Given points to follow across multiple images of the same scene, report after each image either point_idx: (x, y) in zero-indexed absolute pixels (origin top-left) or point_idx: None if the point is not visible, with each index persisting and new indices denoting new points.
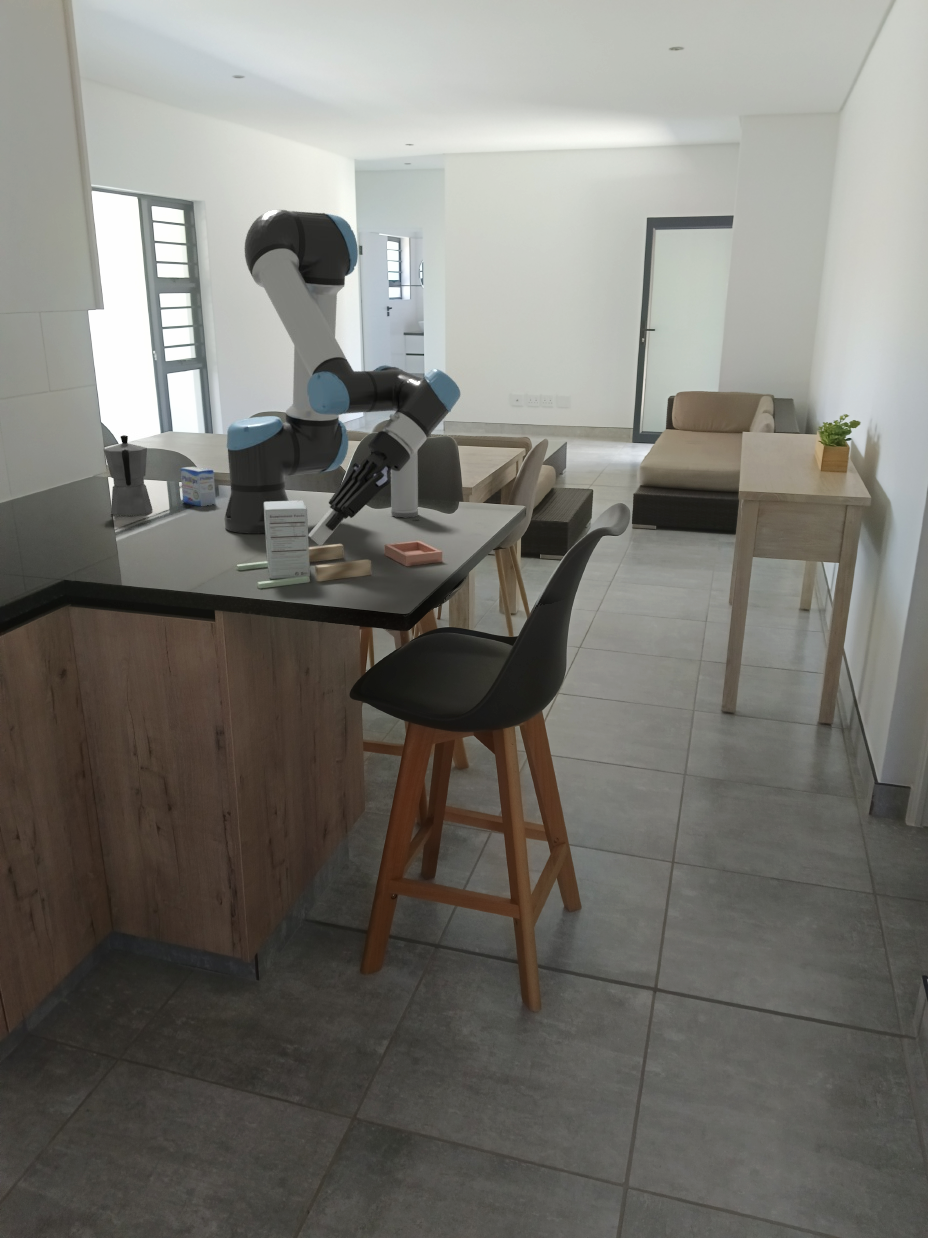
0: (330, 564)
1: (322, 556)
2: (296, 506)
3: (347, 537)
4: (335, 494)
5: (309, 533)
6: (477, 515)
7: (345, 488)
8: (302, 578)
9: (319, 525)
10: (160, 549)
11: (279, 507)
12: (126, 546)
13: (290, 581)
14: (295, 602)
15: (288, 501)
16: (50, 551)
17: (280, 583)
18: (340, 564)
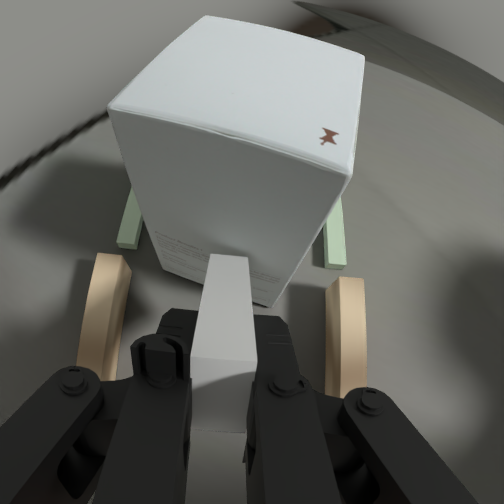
0: (105, 302)
1: (329, 382)
2: (176, 80)
3: (494, 495)
4: (405, 454)
5: (245, 260)
6: None
7: None
8: (122, 224)
9: (212, 283)
10: (483, 142)
11: (205, 38)
12: (494, 125)
13: (129, 197)
14: (29, 169)
15: (335, 101)
16: (469, 75)
17: None
18: (85, 328)
